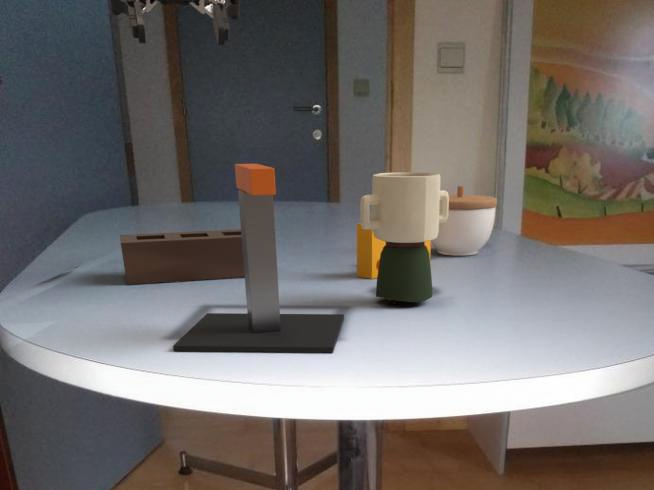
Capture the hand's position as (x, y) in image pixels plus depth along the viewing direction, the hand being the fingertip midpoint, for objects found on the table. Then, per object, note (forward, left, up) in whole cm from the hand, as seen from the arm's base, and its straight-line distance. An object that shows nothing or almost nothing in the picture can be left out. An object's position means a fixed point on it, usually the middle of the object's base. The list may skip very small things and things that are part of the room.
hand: (182, 37), depth 79 cm
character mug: (+25, -11, -26) cm, 38 cm away
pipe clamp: (+23, +8, -26) cm, 36 cm away
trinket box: (+33, +23, -26) cm, 48 cm away
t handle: (+12, -25, -26) cm, 38 cm away
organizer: (-2, +4, -26) cm, 27 cm away
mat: (+12, -25, -26) cm, 38 cm away
